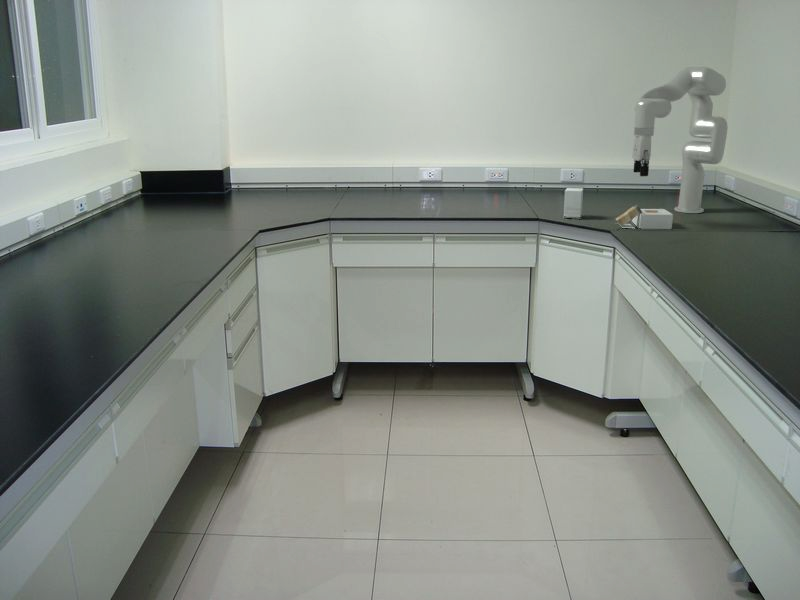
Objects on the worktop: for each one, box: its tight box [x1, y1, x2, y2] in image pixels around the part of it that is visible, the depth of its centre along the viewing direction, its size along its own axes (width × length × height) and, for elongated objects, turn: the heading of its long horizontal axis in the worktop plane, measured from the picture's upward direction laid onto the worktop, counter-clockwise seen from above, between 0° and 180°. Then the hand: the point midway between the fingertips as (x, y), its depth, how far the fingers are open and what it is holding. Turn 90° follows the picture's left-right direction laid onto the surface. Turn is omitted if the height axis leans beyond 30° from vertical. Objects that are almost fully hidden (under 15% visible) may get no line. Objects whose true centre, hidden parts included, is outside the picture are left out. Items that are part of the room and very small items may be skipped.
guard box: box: [631, 208, 674, 230], centre depth 305 cm, size 12×13×6 cm
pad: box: [622, 223, 636, 230], centre depth 304 cm, size 8×8×1 cm
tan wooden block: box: [615, 204, 642, 227], centre depth 302 cm, size 3×3×10 cm
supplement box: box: [563, 187, 584, 218], centre depth 322 cm, size 7×7×13 cm
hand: (640, 174), depth 303 cm, fingers open, 9 cm apart
